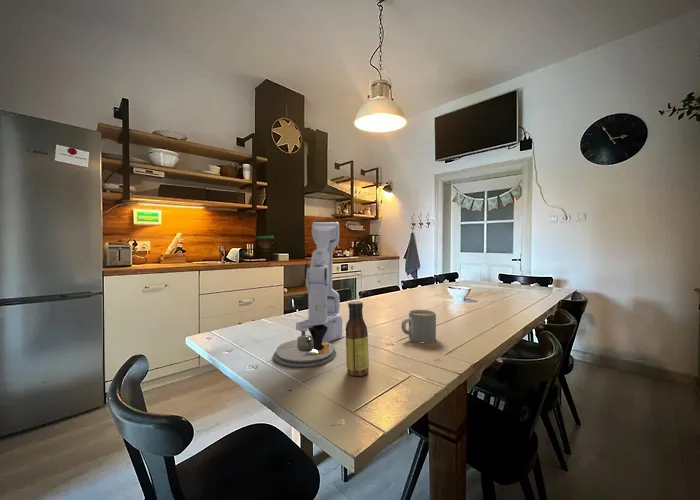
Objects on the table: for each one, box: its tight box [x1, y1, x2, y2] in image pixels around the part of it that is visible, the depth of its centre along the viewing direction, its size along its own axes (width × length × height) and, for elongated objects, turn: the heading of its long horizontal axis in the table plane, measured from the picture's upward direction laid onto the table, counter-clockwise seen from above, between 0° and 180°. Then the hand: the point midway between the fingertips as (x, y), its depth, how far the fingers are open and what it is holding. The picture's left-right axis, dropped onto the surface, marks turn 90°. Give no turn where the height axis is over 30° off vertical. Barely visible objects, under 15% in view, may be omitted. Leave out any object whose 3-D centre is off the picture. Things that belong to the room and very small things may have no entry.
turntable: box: [276, 339, 334, 363], centre depth 100 cm, size 18×18×4 cm
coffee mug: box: [401, 309, 437, 343], centre depth 116 cm, size 13×10×10 cm
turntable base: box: [273, 347, 337, 369], centre depth 100 cm, size 20×20×1 cm
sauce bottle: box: [345, 300, 370, 377], centre depth 86 cm, size 6×6×20 cm
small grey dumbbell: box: [300, 328, 309, 336], centre depth 112 cm, size 3×3×5 cm
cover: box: [296, 334, 314, 351], centre depth 99 cm, size 6×6×4 cm
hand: (317, 349), depth 94 cm, fingers closed, pressing on turntable
